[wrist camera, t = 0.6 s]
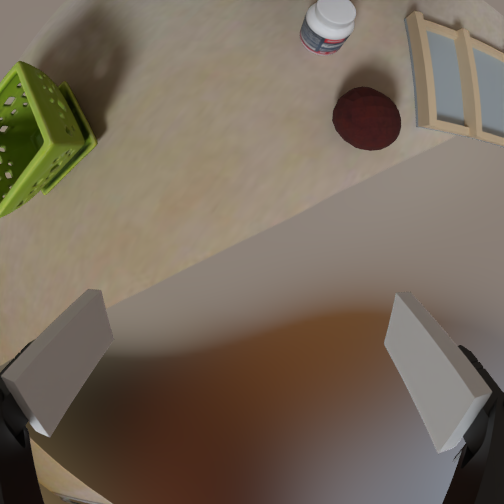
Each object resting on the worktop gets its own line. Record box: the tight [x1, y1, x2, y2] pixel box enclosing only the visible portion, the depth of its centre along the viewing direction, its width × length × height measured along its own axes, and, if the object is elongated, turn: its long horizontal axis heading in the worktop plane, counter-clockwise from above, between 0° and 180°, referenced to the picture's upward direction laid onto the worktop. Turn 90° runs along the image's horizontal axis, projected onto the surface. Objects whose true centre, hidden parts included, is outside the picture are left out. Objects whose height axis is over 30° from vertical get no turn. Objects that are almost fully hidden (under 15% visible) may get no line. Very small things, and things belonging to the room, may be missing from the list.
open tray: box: [404, 11, 504, 147], centre depth 26 cm, size 16×21×4 cm
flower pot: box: [0, 61, 98, 218], centre depth 27 cm, size 14×14×13 cm
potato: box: [332, 87, 401, 151], centre depth 28 cm, size 7×8×7 cm
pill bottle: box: [300, 0, 356, 55], centre depth 24 cm, size 5×5×9 cm
